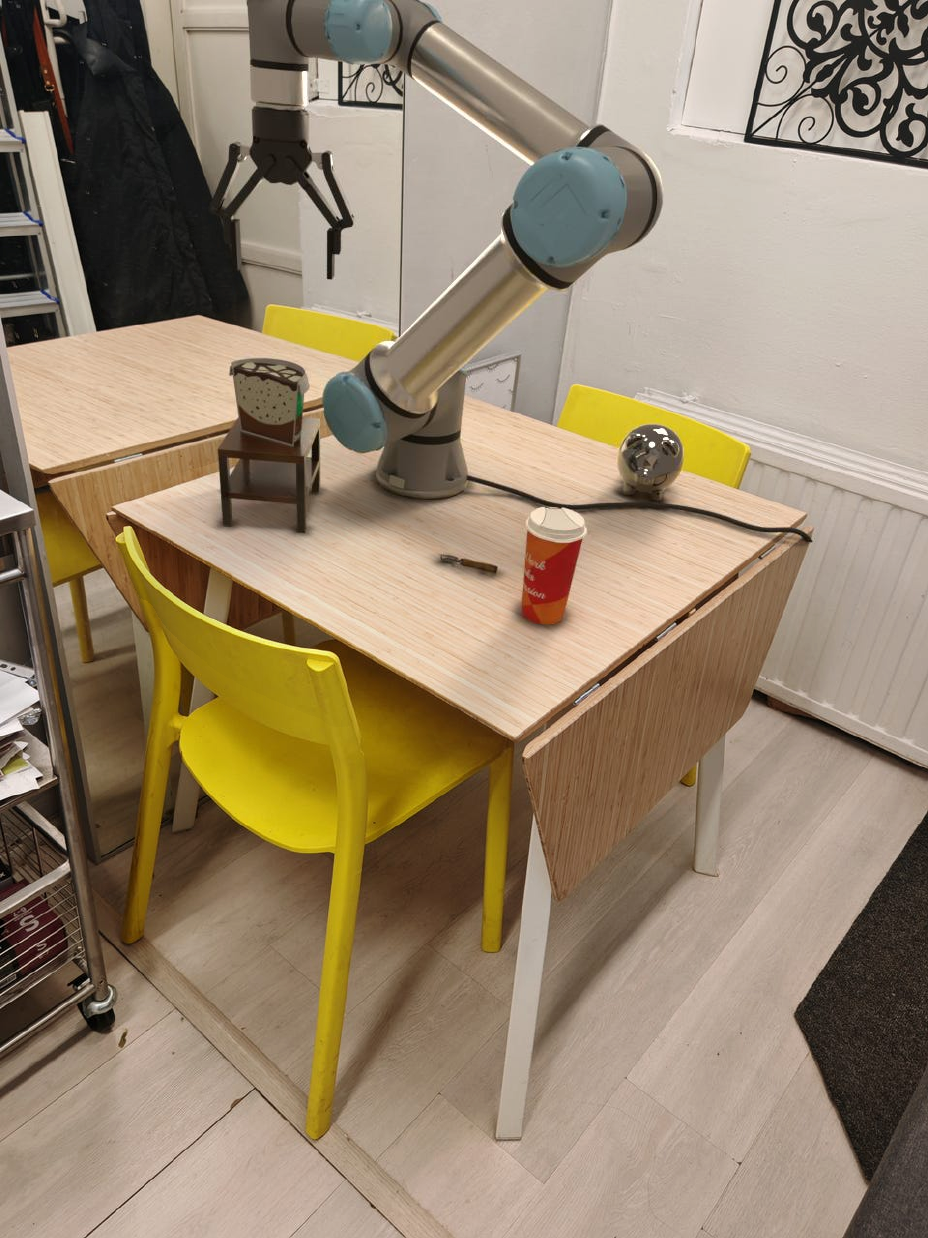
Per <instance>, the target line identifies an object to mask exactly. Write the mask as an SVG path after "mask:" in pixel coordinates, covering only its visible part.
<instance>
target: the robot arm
mask: <svg viewBox="0 0 928 1238" xmlns="http://www.w3.org/2000/svg"><path fill="white" fill-rule="evenodd" d="M245 1H246V6H247V21H248V41H249V58H250V59H249V73H250V77H249V78H250V99H251V100H252V102H255V105H254V106H252V108H251V129H252V142H251V146H250V145H246V144H242V143H241V142H240V141H234V142H232V143H230V144H229V146H228V158H227V159H228V160H227V163H226V165H225V168H224V170H223V172H222V175H221V177H220V179H219V182H218V184H217V186H216V189H215V191H214V194H213V196H212V199H211V201H210V204H209V205H208V212H209V214H210V215H214V216H217V217H218V218H220V219H221V221H222V231H223V232H222V234H223V242H224V244H225V245H229V246H230V250H231V252H230V253H231V269H232V271H235V272H238V271H239V270H240V269H242V267H243V264H242V263H243V262H242V261H243V260H242V242H241V241H242V240H241V220H240V219H239V218H234V217H235V215H236V214H237V213H238V212H239V210H240V209H241V208H242V206H243V205H245V203H246V202H247V200H249V198H250V196H252V195H253V193H254V192H255V191H256V189H257V188H258V187H259V185H260V184H261V183H262V182H263V181H264V180H266V182H268V183H269V184H279V183H281V184H284V185H287V186H293V185H295V184H297V183H298V185H299V186H300V187H301V189H302V190H303V191H304V192H305V193H306V195H307V196H308V198H310V200H311V201H312V202H313V204H314V206H315V207H316V208H317V209H318V211H319V212H320V214H321V215H322V217H323V218H324V220H326V222H327V223H328V224H329V226H330V227H329V228H328V229H327V230H326V280H329V281H331V280H333V279H334V277H335V268H336V267H335V264H336V263H335V261H336V260H335V257H336V256H335V255H338V256H340V254H341V253H342V250H343V231H344V230H345V229H349V228H352V227H354V225H355V223H356V217H355V215H354V212H353V210H352V207H351V206H350V204H349V201H348V198H347V197H346V194H345V192H344V189H343V187H342V185H341V182H340V180H339V177H338V175H337V173H336V170H335V167H334V166H335V165H334V157H333V152H332V151H331V150H325V151H324V152H323V151H321V152H319V151H318V152H312V149H311V147H310V113H309V112H308V110H306V109H305V107H307V106H308V105H309V104H310V87H309V86H310V83H309V81H310V80H309V79H310V77H309V75H310V73H309V70H310V69H309V67H310V66H309V64H310V61H309V60H310V59H314V58H315V59H321V60H326V61H327V60H328V61H333V62H342V63H346V64H348V65H351V66H352V65H360V66H361V65H362V66H363V65H376V64H377V65H391V66H393V67H395V68H396V69H398V70H399V71H401V72H402V73H404V75H406V76H408V77H409V78H410V79H412V80H413V81H415V82H416V83H418V84H419V85H421V86H422V87H423V88H425V89H426V90H427V91H429V92H430V93H431V94H433V95H434V96H435V97H437V98H438V99H440V100H441V101H442V102H444V103H445V104H446V105H448V106H449V107H451V108H452V109H453V110H455V111H456V112H457V113H458V114H460V115H461V116H463V117H464V118H466V120H468V121H469V122H471V123H473V124H474V125H475V126H476V127H478V128H479V129H481V130H482V131H483V132H485V133H486V135H489V137H491V138H493V139H494V140H496V141H497V142H498V143H499V144H501V145H502V146H504V147H505V148H507V149H508V150H509V152H510V151H511V152H512V153H513V154H515V155H516V156H517V157H518V158H519V159H521V160H522V161H524V162H525V163H527V164H528V165H529V168H528V169H527V170H526V171H525V172H524V174H523V175H522V176H521V178H520V179H519V181H518V183H517V185H516V187H515V190H514V193H513V195H512V200H513V202H512V203H511V204H510V205H509V206H508V207H507V208H506V209H505V210H504V211H503V212H502V215H501V218H500V227H501V233H500V234H499V235H498V236H497V237H496V238H495V239H494V241H492V242H491V243H490V244H489V245H488V247H487V248H486V249H484V250H483V252H481V254H480V255H479V256H477V258H475V260H474V261H473V262H472V263H471V264H470V265H469V266H468V267H467V268H466V269H465V270H464V271H463V272H462V273H461V274H460V275H459V276H458V277H457V278H456V279H455V280H454V281H453V282H452V284H450V285H449V286H448V287H447V288H446V290H445V291H443V293H441V295H439V296H438V297H437V299H435V301H434V302H433V303H432V304H431V305H430V306H428V308H426V310H425V311H424V312H423V313H422V314H421V315H420V316H419V317H418V318H417V319H416V320H415V321H414V322H413V323H412V324H411V325H410V326H409V327H408V328H407V329H406V330H405V331H404V332H403V334H401V335H400V336H399V337H397V338H395V339H394V341H390V340H386V341H382V342H380V343H377V344H376V345H375V346H374V347H373V348H372V349H371V350H370V351H369V352H368V353H367V354H366V355H365V356H364V357H363V358H362V359H361V361H359V362H358V363H357V364H356V365H355V366H354V367H353V368H351V369H350V370H348V371H342V372H339V373H337V374H336V375H335V376H333V377H332V378H330V379H329V380H328V381H327V383H326V384H325V386H324V389H323V392H322V396H321V405H322V407H323V411H322V412H323V417H324V419H325V422H326V425H327V427H328V429H329V430H330V432H331V434H332V436H333V437H334V438H335V439H336V440H337V441H338V442H339V443H340V444H341V445H342V446H343V447H344V448H346V449H347V450H349V451H353V452H355V453H357V454H368V453H372V452H377V451H381V450H382V451H381V454H380V456H379V459H378V462H377V466H376V475H375V476H376V481H377V483H378V484H379V485H380V486H381V487H382V488H383V489H385V490H387V491H388V492H390V493H393V494H396V495H398V496H403V497H407V498H413V499H421V500H436V499H444V498H445V499H446V498H449V497H453V496H455V495H457V494H460V493H462V492H463V491H464V490H465V489H466V488H467V486H468V481H469V482H472V483H476V484H480V485H482V486H486V487H490V488H492V489H497V490H500V491H504V492H506V493H509V494H512V495H516V496H519V497H522V498H524V499H527V500H528V501H531V502H534V503H535V504H538V505H542V506H544V507H547V508H549V507H558V509H561V508H566V509H570V510H572V511H582V510H583V511H584V510H594V509H595V510H596V509H612V508H613V509H615V508H619V509H620V508H658V509H666V510H667V509H669V510H675V511H681V512H682V511H683V512H689V513H694V514H698V515H703V516H706V517H710V518H713V519H717V520H721V521H723V522H726V523H729V524H732V525H734V526H737V527H740V528H744V529H746V530H749V531H750V530H751V531H754V532H758V533H771V534H772V533H777V534H778V533H787V534H788V533H789V534H795V535H798V536H800V537H801V538H803V540H805V542H807V543H813V542H814V541H813V540H812V538H811V536H810V535H809V534H808V533H806V532H805V531H803V530H801V529H799V528H796V527H789V526H785V527H784V526H779V527H778V526H777V527H772V526H771V527H767V526H758V525H754V524H751V523H747V522H744V521H741V520H738V519H735V518H732V517H730V516H727V515H725V514H721V513H718V512H714V511H711V510H707V509H702V508H698V507H694V506H689V505H683V504H675V503H667V502H657V501H656V502H654V501H623V502H621V501H620V502H619V501H618V502H593V503H585V504H584V503H582V504H567V503H558V502H553V501H549V500H545V499H544V498H543V499H542V498H539V497H537V496H534V495H532V494H530V493H528V492H525V491H523V490H519V489H516V488H513V487H510V486H506V485H505V484H504V485H503V484H501V483H497V482H494V481H490V480H487V479H484V478H480V477H476V476H472V475H469V471H468V465H467V462H466V461H467V460H466V457H465V453H464V449H463V445H462V441H461V440H462V439H461V435H462V425H463V424H462V423H463V413H464V405H465V404H464V403H465V393H466V383H467V376H468V370H467V366H468V365H467V364H468V362H469V361H471V359H472V358H474V357H475V356H476V355H477V354H478V353H479V352H480V351H481V350H483V348H484V347H485V346H487V345H488V344H489V343H490V342H491V341H492V340H493V339H495V337H497V336H498V335H499V334H500V333H502V331H503V330H505V328H506V327H508V326H510V324H511V323H512V322H513V321H514V320H515V319H517V318H518V316H520V315H521V314H522V313H523V312H524V311H526V310H527V308H528V307H529V306H531V305H532V304H533V303H534V302H535V301H537V299H539V298H540V297H541V296H542V295H543V294H544V293H545V292H546V291H547V290H553V291H557V292H558V291H559V292H561V291H566V290H567V289H568V288H569V287H571V286H572V285H573V284H574V283H575V282H576V281H577V280H579V279H580V278H581V277H583V275H584V274H585V273H587V271H589V270H590V269H591V268H592V267H594V265H595V264H596V263H598V262H599V261H600V260H601V259H603V258H604V257H605V256H607V255H609V254H612V253H613V254H614V253H616V252H620V251H624V250H627V249H629V248H631V247H634V246H635V245H637V244H639V243H640V242H641V241H643V240H644V238H646V237H647V236H648V235H649V234H650V233H651V231H652V230H653V228H655V226H656V224H657V222H658V220H659V218H660V216H661V212H662V209H663V206H664V205H663V204H664V185H663V179H662V177H661V173H660V171H659V169H658V167H657V165H656V164H655V163H654V161H653V160H652V158H651V157H650V156H649V155H648V154H647V153H646V152H644V151H642V149H640V148H638V147H637V146H635V145H634V144H633V143H632V142H629V141H628V140H626V139H625V138H623V137H621V136H620V135H619V134H617V133H616V132H614V131H613V130H611V129H610V128H608V127H607V126H605V125H604V124H602V123H596V124H594V125H590V126H589V125H588V124H587V123H585V122H584V121H582V120H581V119H579V118H578V117H576V116H575V115H574V114H573V113H571V112H570V111H568V110H567V109H565V108H564V107H563V106H561V105H560V104H558V103H557V102H556V101H554V100H552V99H551V98H550V97H548V96H547V95H546V94H544V93H543V92H541V91H540V90H539V89H537V88H536V87H534V86H533V85H531V84H530V83H529V82H527V81H525V80H524V79H522V78H521V77H520V76H519V75H517V74H515V73H514V72H513V71H511V70H510V69H509V68H507V67H505V65H503V64H502V63H500V62H499V61H497V60H496V59H494V58H493V57H492V56H490V55H489V54H487V53H486V52H485V51H483V50H481V49H480V48H479V47H478V46H476V45H474V43H472V42H470V41H469V40H467V39H466V38H464V37H463V36H462V35H461V34H459V33H457V32H456V31H454V30H453V29H452V28H450V27H449V26H448V25H446V24H445V23H444V21H443V20H442V18H441V16H440V14H439V12H438V10H437V9H436V8H435V7H434V6H433V5H432V4H430V3H427V2H425V1H421V0H245ZM248 156H249V157H250V159H251V161H252V162H253V164H254V165H255V167H256V169H255V170H254V172H253V173H252V175H251V176H250V177H249V179H248V180H247V181H246V183H245V184H244V185H243V186H242V188H240V190H239V191H238V193H237V194H236V195H235V197H234V198H233V199H232V200H231V201H230V203H229V204H228V205H227V206H226V207H225V206H223V205H224V204H225V201H226V199H227V196H228V194H229V192H230V190H231V187H232V185H233V183H234V180H235V178H236V175H237V173H238V171H239V169H240V166H241V163H243V162H245V161H246V160H247V158H248ZM313 162H314V163H315V164H316V167H317V168H318V169H319V170H320V171H322V173H323V177H324V179H325V181H326V183H327V186H328V188H329V191H330V192H331V195H332V196H333V199H334V203H335V204H336V206H337V207H336V208H337V209H338V211H339V214H340V216H341V218H340V217H339V215H338V214H337V212H336V211H335V210H334V208H333V207H332V205H331V204H330V203H329V201H328V199H326V197H325V196H324V194H323V193H322V192H321V190H320V189H319V187H318V186H317V185H316V183H315V182H314V179H313V177H311V175H310V174H309V173H308V171H307V170H308V169H309V167H310V166H311V165H312V163H313Z"/></svg>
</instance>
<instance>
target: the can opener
mask: <svg viewBox="0 0 928 1238" xmlns="http://www.w3.org/2000/svg"><path fill="white" fill-rule="evenodd" d="M438 556H440V557H439V559H440V561H442V562H445V561H447V562H449V563H455V564H456V563H459V565H461V566H463V567H467V568H473V569H475V570H479V571H483V572H485V573H493V574H497V572H498V569H499V566H498V565H496V564H492V563H489V562H483V561H477V560H472V559H469V558H460V559H459V557H457V556H454V555H450V554H445V553H442V554H441V553H440V554H438ZM443 557H445V559H444V558H443Z"/></svg>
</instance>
